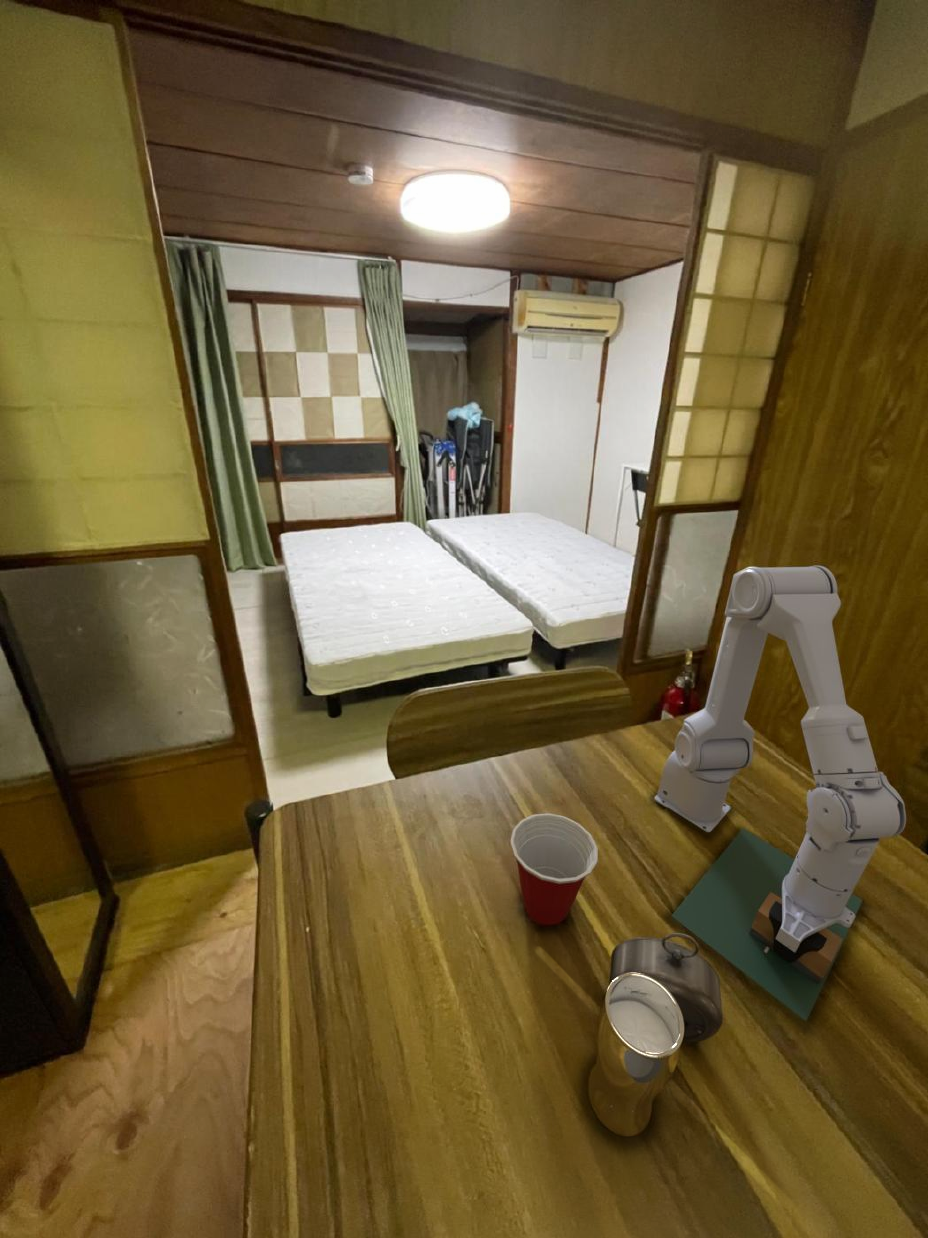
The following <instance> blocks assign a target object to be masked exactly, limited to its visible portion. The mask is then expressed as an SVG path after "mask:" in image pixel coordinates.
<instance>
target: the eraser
mask: <svg viewBox="0 0 928 1238" xmlns="http://www.w3.org/2000/svg"><path fill="white" fill-rule="evenodd" d="M775 901H777V902H779V903H780V904H782V899H781V898H780V897H778V896H777V895H775V894H774V893H772V892H770V894H769V895H768V897H767V898H766V900H765V901H764V903H763V904H762V906H761V907H760V909H759V910H758V912H757V915H756V917H755V920H754V922H753V925H752V927H751V929H750V932H749V934H750V935H752V936H753V937H754V938H756V939H757V940H759V941H760V942H761V943H763V944H764V945H765V946H767V947H768V948H770V949H771V950H772V951H774V950H773V940H774V930H773V926H772V923H771V921H770V919H769V911H770V908H771V907H772V905H773V904H774V902H775ZM818 933H820V934H821V935H823V936H824V937H826V938H827V941H826V943H825V945H824V947H823V948H822V949H821V950H819V951H818V952H815V951H812V952H807V953H805V954H804V955H802V956H801V957H800V958H799V959H798V960H796V961H795V962H794V963H792V964H791V965H793V966H794V967H796V968H797V969H798V970H800V971H801V972H802V973H804V974H805V975H807V976H808V977H809V978H811V979H812V980H813V981H815V982H816V983H817V984H820V983H821V981H822V979H823V977H824V975H825V974H826V972H827V970H828V968H829V966H830V964H831V963H832V961H833V959H834V956H835V954H836V952H837V950H838V948H839V946H840V944H841V942H842V940H843V939H842V938H840V937H839V936H837V935H836V934H834V933H833V932H831V931H830V930H828V929H827V928H824V929H822V930H820V931H818Z"/></svg>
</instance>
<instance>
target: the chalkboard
mask: <svg viewBox="0 0 928 1238" xmlns="http://www.w3.org/2000/svg"><path fill="white" fill-rule="evenodd" d="M794 860H795V858H793V857H792V856H790V855H789V854H786V853H785V852H783V851H782V850H780V849H778V848H777V847H775V846H773V845H771V844H770V843H768V842H767V841H765V840H763V839H762V838H760V837H758V836H757V835H755V834H753V833H752V832H751V831H749V830H747V829H745V828H743V827H742V828H741V830H739V832H738V834H737V835H736V836H735V837H734V838H733V839H732V841H731V842H730V843H729V844H728V845H727V847H726V848H725V849H724V850H723V852H722V853H721V854H720V856H719V857H718V858H717V859H716V860H715V862H714V863H713V864H711V866H710V868H709V869H708V870H707V871H706V873H705V874H704V875H703V877H701V879H700V880H699V882H697V884H696V885H695V886H694V888H693V889H692V890H691V891H690V892H689V894H687V896H686V897H685V898H684V900H683V901H682V902H681V904H680V905H679V906H678V908H676V910H675V911H674V912H673V914H672V915H671V917H672V918H673V919H674V920H675V921H676V922H677V923H679V924H681V925H682V926H683V927H684V928H686V929H687V930H689V931H690V933H692V934H693V935H695V936H696V937H697V938H699V940H701V941H702V942H704V943H705V944H706V945H707V946H709V947H710V948H711V949H712V950H713V951H715V952H716V953H718V954H719V955H720V956H722V957H723V958H724V959H725V960H727V961H728V962H729V963H730V964H731V965H733V966H734V967H736V968H737V969H738V971H741V972H742V973H743V974H744V975H745V976H747V977H748V978H749V979H751V980H752V981H753V982H754V983H756V984H757V985H758V986H760V987H761V988H762V989H764V991H766V992H767V993H769V994H770V995H771V996H773V997H774V998H775V999H777V1000H778V1001H779V1002H780V1003H781V1004H783V1006H785V1007H786V1008H788V1009H789V1010H790V1011H792V1012H793V1013H794V1014H795V1015H797V1016H798V1017H799V1018H800V1019H802V1021H805V1022H807V1021H808V1020H809V1019H808V1018H809V1016H810V1014H811V1012H812V1010H813V1008H814V1006H815V1004H816V1001H817V999H818V997H819V996H820V993H821V991H822V989H823V987H824V984H825V983H826V980H827V978H828V976H829V974H830V972H831V969H832V967H833V965H834V963H835V961H836V959H837V957H838V955H839V953H840V950H841V948H842V947H843V944H844V942H845V940H846V937H847V936H848V933H849V931H850V929H851V927H852V925H851V926H850V927H845V926H843V925H841V924H840V923H834V924H832V925H830V926H828V927H826V928H827V929H828V930H830V931H831V932H833V933H834V934H836V935H837V936H839V937H840V938H842V939H843V940H842V942H841V944H840V946H839V948H838V950H837V952H836V954H835V956H834V959H833V961H832V963H831V964H830V966H829V968H828V970H827V972H826V974H825V975H824V977H823V979H822V981H821V983H820V984H817V983H816V982H815V981H813V980H812V979H811V978H809V977H808V976H807V975H805V974H804V973H802V972H801V971H800V970H798V969H797V968H796V967H794V966H793V965H791V964H790V963H789V962H787V961H786V960H785V959H783V958H782V957H780V956H779V955H778V954H776V953H775V952H774V951H772V950H771V949H770V948H768V947H767V946H765V945H764V944H763V943H761V942H760V941H759V940H757V939H756V938H754V937H753V936H752V935H750V934H749V932H750V929H751V927H752V925H753V922H754V920H755V917H756V915H757V912H758V910H759V909H760V907H761V906H762V904H763V903H764V901H765V900H766V898H767V897H768V895H769V894H770V892H772V893H774V894H775V895H777V896H778V897H780V898H781V899H782V883H783V880H784V878H785V876H786V875H787V874H789V872H790V869H791V867H792V865H793V863H794ZM863 901H864V900H863V899H862V898H860V897H858V896H857V895H855V894H853V893H852V894H851V896H850V898H849V900H848V902H847V904H846V905H845V907H846V908H847V909H849V910H850V911H852V912H853V913H854V914H855V918H856V916H857V914H858V912H859V910H860V908H861V905H862V904H863ZM855 918H854V920H855Z"/></svg>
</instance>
